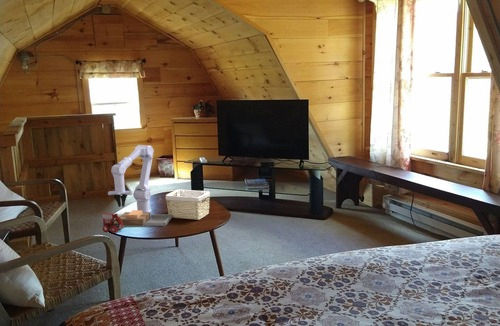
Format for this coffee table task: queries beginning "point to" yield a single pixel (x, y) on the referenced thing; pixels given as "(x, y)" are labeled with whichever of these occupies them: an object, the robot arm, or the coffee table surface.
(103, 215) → the toy fire truck
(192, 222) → the coffee table surface
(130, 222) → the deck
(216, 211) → the coffee table surface
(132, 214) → the tan rectangular block
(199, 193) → the storage basket
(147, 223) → the tray
